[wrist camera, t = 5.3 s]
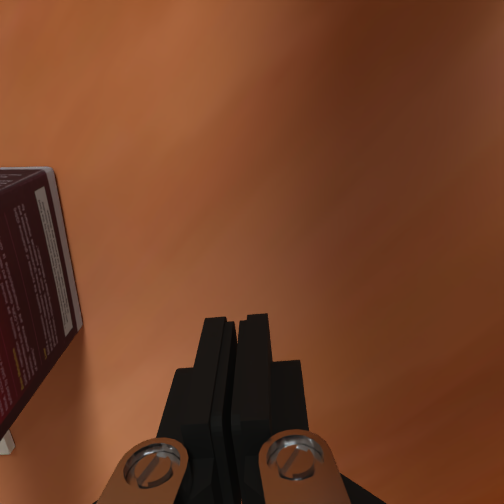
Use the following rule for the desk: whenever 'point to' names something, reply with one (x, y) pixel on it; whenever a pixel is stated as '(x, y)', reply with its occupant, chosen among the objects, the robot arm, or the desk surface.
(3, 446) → the mat
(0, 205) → the supplement box
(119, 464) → the robot arm
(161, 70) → the desk surface
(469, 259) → the desk surface
